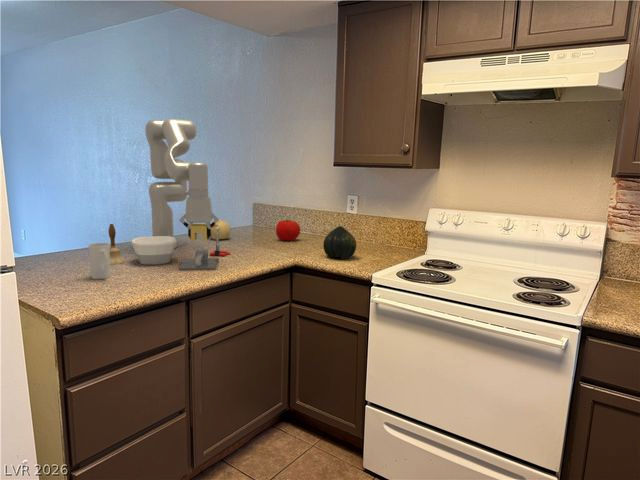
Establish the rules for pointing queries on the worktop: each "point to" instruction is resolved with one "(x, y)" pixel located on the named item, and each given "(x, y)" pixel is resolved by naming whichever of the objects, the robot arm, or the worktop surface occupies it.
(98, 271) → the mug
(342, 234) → the squash
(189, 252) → the worktop surface
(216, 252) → the tow hook
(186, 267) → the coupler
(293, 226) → the tomato
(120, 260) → the hand bell
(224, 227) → the sculpture
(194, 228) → the notched yellow block
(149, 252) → the bowl
